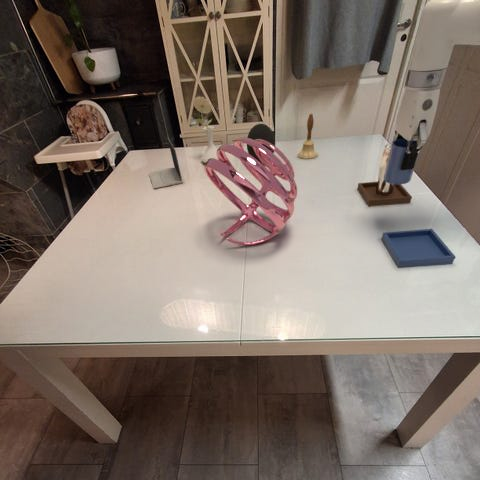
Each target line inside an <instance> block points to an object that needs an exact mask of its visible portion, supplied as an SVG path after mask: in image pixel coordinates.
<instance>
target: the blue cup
mask: <svg viewBox="0 0 480 480" xmlns="http://www.w3.org/2000/svg"><path fill="white" fill-rule="evenodd" d="M416 142H417V141H416ZM416 142H412V144H411V147H412V146H413V145H414V144H415V143H416ZM391 143H392V145H391V149H390V153H389V158H388V162H387V166H386V170H385V174H384V178H383V179H384V181H385V182H387V183H390V184H401V185H406V184H408V183H410V182H411V179H412V178H413V177H412V176H413V174H414V170H415V167H416V164H417V160H418V158H419V155H420V152H419V153H418V156H417V159H416V162H415V166H414V168H413V169H409V170H401V169H400V167H401V163H402V160H403V156H404V153H406V151H407V140H406V139H405V138H404V139H398V140H394V139H393V141H391Z"/></svg>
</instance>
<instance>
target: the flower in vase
mask: <svg viewBox="0 0 480 480" xmlns="http://www.w3.org/2000/svg"><path fill="white" fill-rule="evenodd" d="M192 103H193V107H194V108H195V110H197V112H199V113H201V118H199V117H198V118H197V119H196V121H195V123H198V124H201V125H203V124H204V125H205V126H204V127H202V129H203V131H204V132H205V134H206V138H207V144H208V146H207V148H206V149H205V151H204V152H203V153H202V154H201V156H200V160H201V162H202V163H204V164H206V162H207V161H208V160H209V159H210V158H214V159H217V160H218V158H217V150H218V147H216V146H215V143H214V138H213V137H214V129H215V125H208V124H210V123H212V121H213V118H211V119H209V120H208V121H207V123H206V122H205V120H204V118H203V114H204V115H205V114H206V115H207V114H210V112H211V113H212V104H211V103H210V100H208V99H207V98H205V97H204V96H200V95H198V96H195V98H194V99H193V102H192Z"/></svg>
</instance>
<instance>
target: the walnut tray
mask: <svg viewBox="0 0 480 480" xmlns="http://www.w3.org/2000/svg"><path fill="white" fill-rule="evenodd" d="M377 183H378V181H369V182H358V184H357V191H358V193H359V194H360V195H361V197H362V199H363V201H364V203H365V205H367V207H378V206H391V205H402V204H410V203H411V201H412V198H413V196H412V195H411V194H410V193H409V191H407V189H406V188H405V186H403V184H394V187H393V195H392V196H391V197H388V198H380V197H377V196H375V195H374V191H375V189H376V186H377Z"/></svg>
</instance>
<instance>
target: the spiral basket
mask: <svg viewBox="0 0 480 480" xmlns="http://www.w3.org/2000/svg"><path fill="white" fill-rule="evenodd" d="M243 143H244V144H246V145H247V144H248V145H250V146H252V147H253V149H254V151H255V153H256V155H257V156H258V158H259V159H260V160H261V161H262V163H260V162H259V161H258V160H257V159H255V158H254V157H253V156H251V155H250V154H249V153H248V151H246V150H245V149H244V146H243V145H244V144H243ZM262 144H264V145H266V146H268V147H270V148H271V149H272V150H274V153H272V152H271V151H270V150H269V149H267V148H266V147H265V146H263V145H262ZM217 149H218V150H217V158H218V160H217V159H214V158H210V159H209V160H208V161H207V162H206V163H204V167H203V170H204V172H205V174H206V176H207V177H208V179H209V180H210V181H211V183H212V184H213V185H214V186H215V187H216V188H217V189H218V191H219V192H220V193H221V194H222V195H223V196H224V197H225V198H226V199H227V200H228V201H229V202H231V204H232V205H234V206H235V207H236V208H237V209H238V210H239V211H240V212H241V215H240V216H239V218H237V219H236V221H235V222H234V223H233V224H231V226H230V227H228V228H227V229H226V230H224V231H223V232H221V233H219V236H220V237H223V236H228V235H230V234H232V233H234V232H235V231H237V230H238V229H239V228H240V227H242V226H243V225H244V224H245V223H246V222H247V221H248V220H251V221H253V222H254V223H256V224H257V225H258V226H261V227H262V228H263V229H265V230H267V231H269V232H271V233H270V234H268V235H267V236H265V237H263V238H260V239H257V240H254V241H239V240H235V239H233V238H229V237H226V238H225V240H226V241H227V242H229V243H232V244H235V245H240V246H254V245H258V244H262V243H264V242H266V241H268V240H270V239H272V238H274V236H276V235H277V234H279V233H281V231H283V229H284V227H285V225H286V224H287V222H288V221H289V219H290V218H291V217H292V216H293V214H294V210H295V200H296V199H297V196H298V185H297V182H296V180H295V169H294V168H293V164H292V163H291V161H290V160H289V158H288V157H287V156H286V154H284V153H283V152H282V150H280V149H279V148H278V147H277V146H276V145H275V146H274V145H273V144H271V143H269V142H268V141H265V140H262V139H255V140H253V139H250V138H247V137H238V138H236V139H235V140H234V141H233V144H232V143H224V144H222V145H221V146H219V147H217ZM226 153H228V154H230V155H232V156H234V157H235V158H237V159H238V160H239V161H240V162H241V164H242V165H243V166H244V168H245V169H247V171H248V172H249V173H250V174H251V176H253V178H255V180H257V181H258V183H260V184H261V188H260V189H258V188H257V187H256V186H255V185H254V184H253V183H251V182H250V180H248V179H247V178H246V177H245V176H243V175H242V174H241V173H239V172H238V171H237V169H236V168H235V167H234V166H233V165H232V163H231V161H230V160H229V158H228V156H227V154H226ZM275 153H276V154H277V155H278V156H279V157H280V158H281V159H282V160H283V162H282V161H281V159H280V158H278V156H277V155H276V154H275ZM217 173H219V174H220V175H221V176H223V177H225V178H226V179H227V180H229V181H230V182H231V183H232V184H233V185H235V186H236V187H237V188H239V189H240V190H241V191H242V192H243V193H245V194H246V195H247V196H248V197H249V198H250V199H251V202H250V203H249V204H246V203H245V202H244V201H242V199H241V198H240V197H238V196H237V195H236V194H235V193H234V192H233V191H232V190H231V189H230V188H229V187H228V186H227V184H225V182H224V181H223V180H222V179H221V178H220V177H219V176H218V174H217ZM277 177H278V178H280V179H282V180H284V181H286V182H288V183H289V185H290V190H288V189H286V187H285V186H284V185H283V184H282V183H281V181H280V180H279V179H278V178H277ZM268 192H271V193H273V194H274V195H275V196H277V197H279V198H280V199H281V200H282V202H283V203H284V205H285V207H286V209H285V208H282V207H280V206H278V205H276V204H275V203H273V202H271V201H270V200H269V199H268V197H266V196H267V193H268ZM258 208H260V209H261V210H262V211H263V212H264V213H265V214H266V215H267V216H268V218H270V220H271V221H272V222H270V221H269V220H268V219H265V218H264V217H263V216H261V214H258V212H257V209H258Z"/></svg>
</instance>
